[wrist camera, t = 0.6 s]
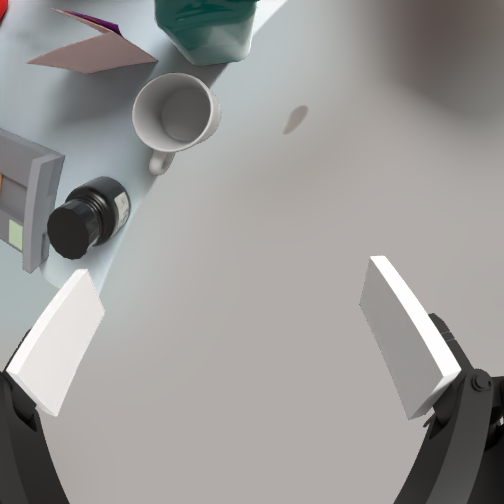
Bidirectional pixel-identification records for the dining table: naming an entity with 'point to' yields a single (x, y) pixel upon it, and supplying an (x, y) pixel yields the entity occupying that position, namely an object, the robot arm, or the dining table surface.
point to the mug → (174, 116)
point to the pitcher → (208, 28)
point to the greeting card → (95, 49)
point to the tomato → (3, 7)
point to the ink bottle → (88, 217)
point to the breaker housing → (27, 196)
